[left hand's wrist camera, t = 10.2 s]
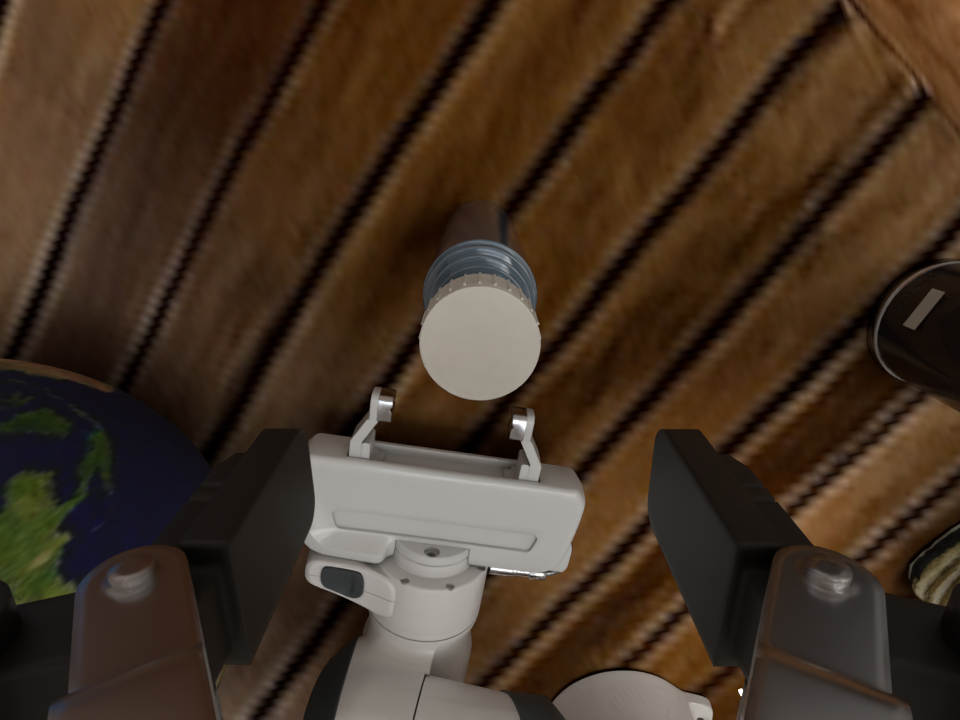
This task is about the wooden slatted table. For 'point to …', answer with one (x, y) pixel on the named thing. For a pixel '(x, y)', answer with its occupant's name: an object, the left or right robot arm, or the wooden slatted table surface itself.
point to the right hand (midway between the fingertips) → (454, 401)
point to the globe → (82, 477)
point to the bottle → (479, 250)
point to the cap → (479, 337)
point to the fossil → (937, 569)
